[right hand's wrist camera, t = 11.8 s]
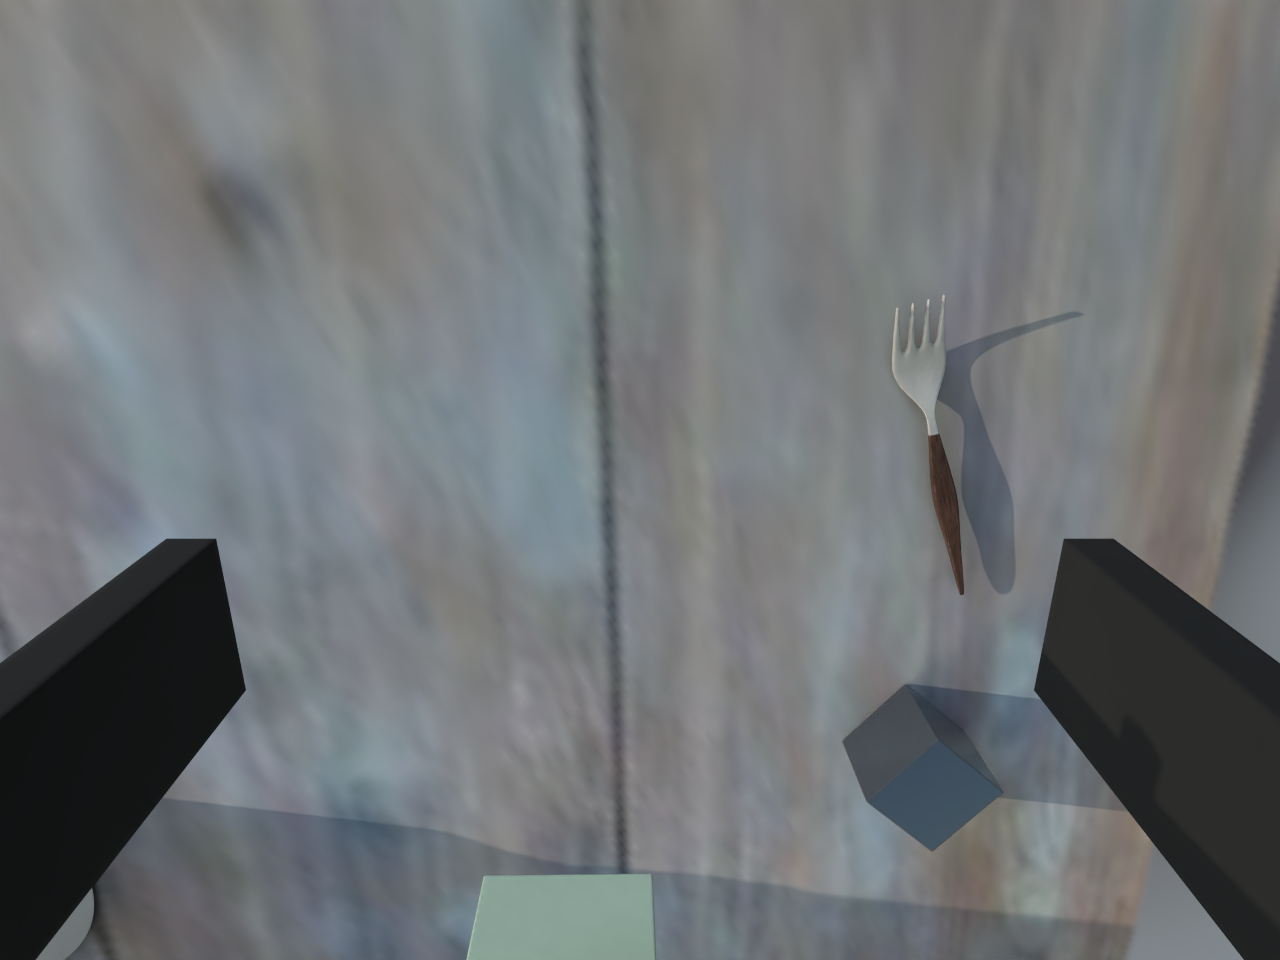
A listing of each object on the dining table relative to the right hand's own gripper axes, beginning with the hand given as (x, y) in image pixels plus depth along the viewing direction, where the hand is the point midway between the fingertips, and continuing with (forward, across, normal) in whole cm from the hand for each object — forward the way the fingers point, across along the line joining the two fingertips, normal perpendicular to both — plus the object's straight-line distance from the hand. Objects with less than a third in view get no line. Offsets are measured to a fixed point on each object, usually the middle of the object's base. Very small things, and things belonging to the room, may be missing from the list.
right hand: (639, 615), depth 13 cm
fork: (+28, +15, -6) cm, 32 cm away
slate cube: (+27, +15, -23) cm, 39 cm away
